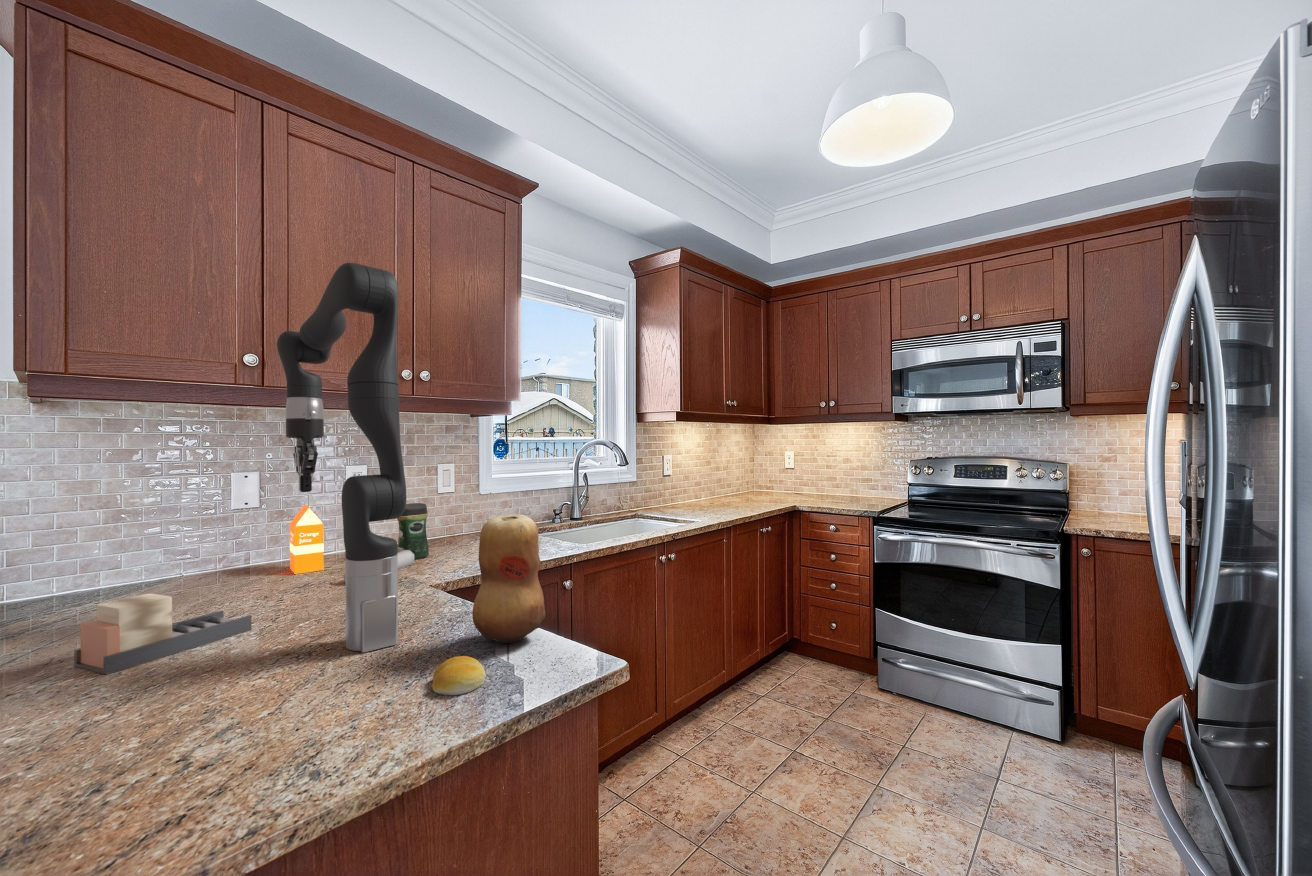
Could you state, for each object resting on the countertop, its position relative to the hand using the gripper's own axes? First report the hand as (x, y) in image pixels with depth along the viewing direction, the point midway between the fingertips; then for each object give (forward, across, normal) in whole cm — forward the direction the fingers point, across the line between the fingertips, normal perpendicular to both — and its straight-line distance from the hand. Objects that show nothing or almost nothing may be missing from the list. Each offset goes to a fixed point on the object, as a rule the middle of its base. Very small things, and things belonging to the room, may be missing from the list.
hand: (305, 491), depth 129 cm
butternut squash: (+30, +49, +25) cm, 63 cm away
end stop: (+28, +10, -34) cm, 45 cm away
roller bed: (+28, +5, -24) cm, 38 cm away
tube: (+28, -27, +24) cm, 46 cm away
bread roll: (+30, +60, +10) cm, 68 cm away
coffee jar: (+27, -44, +40) cm, 65 cm away
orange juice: (+27, -49, +10) cm, 57 cm away
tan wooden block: (+26, +8, -29) cm, 40 cm away
